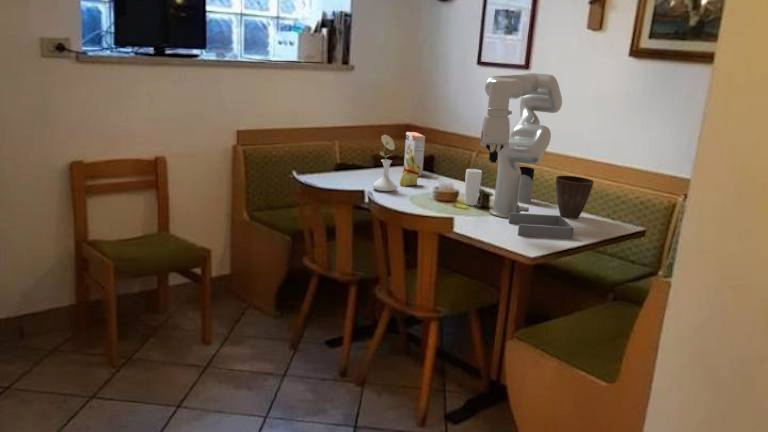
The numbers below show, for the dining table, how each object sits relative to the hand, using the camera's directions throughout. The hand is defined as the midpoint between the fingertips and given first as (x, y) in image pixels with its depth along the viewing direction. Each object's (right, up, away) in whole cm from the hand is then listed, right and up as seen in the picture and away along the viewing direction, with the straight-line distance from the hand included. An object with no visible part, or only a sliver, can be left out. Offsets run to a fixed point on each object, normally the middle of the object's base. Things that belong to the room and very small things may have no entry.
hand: (492, 162), depth 251 cm
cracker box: (-26, +1, +96) cm, 99 cm away
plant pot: (+36, -21, +26) cm, 49 cm away
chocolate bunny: (-29, -6, +67) cm, 74 cm away
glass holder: (+22, -13, +52) cm, 58 cm away
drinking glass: (-4, -16, +35) cm, 39 cm away
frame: (+18, -26, +1) cm, 31 cm away
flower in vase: (-41, -9, +52) cm, 67 cm away
